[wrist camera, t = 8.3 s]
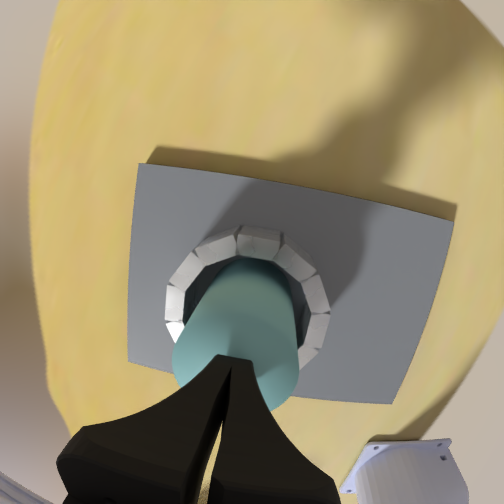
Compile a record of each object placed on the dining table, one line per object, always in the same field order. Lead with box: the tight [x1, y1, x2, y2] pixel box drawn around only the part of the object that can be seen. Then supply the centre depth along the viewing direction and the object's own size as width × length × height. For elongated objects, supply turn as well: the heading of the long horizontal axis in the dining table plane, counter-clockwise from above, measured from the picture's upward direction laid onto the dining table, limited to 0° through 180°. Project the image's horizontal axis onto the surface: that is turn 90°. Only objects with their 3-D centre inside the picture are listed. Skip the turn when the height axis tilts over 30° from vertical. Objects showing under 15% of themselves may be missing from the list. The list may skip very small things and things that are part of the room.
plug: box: [172, 258, 299, 411], centre depth 16 cm, size 5×5×8 cm
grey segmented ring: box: [165, 225, 331, 370], centre depth 18 cm, size 9×9×3 cm
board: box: [127, 163, 454, 404], centre depth 20 cm, size 20×14×1 cm
